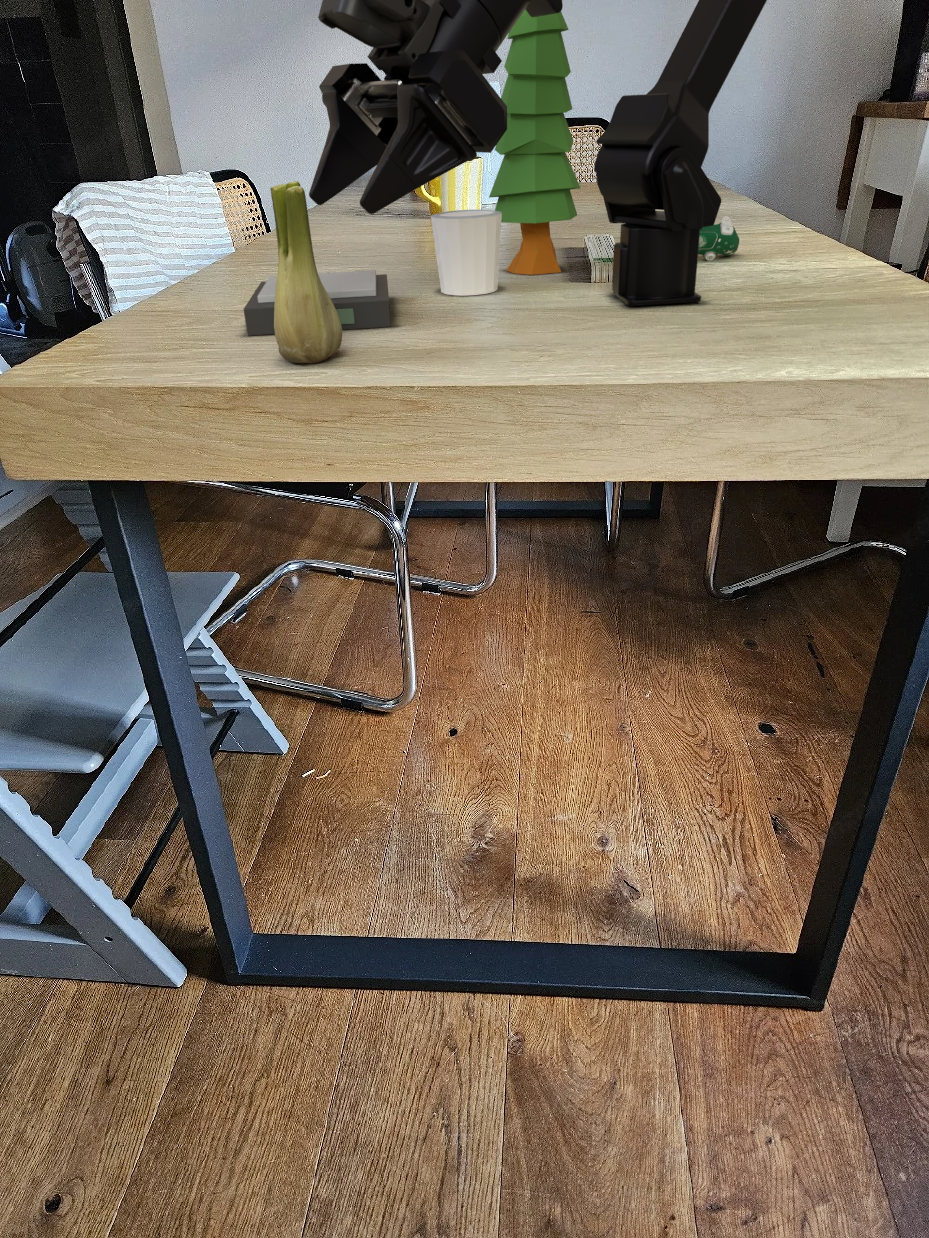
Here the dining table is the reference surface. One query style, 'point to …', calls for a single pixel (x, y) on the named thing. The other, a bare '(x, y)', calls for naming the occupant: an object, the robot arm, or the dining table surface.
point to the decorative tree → (536, 141)
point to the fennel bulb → (300, 285)
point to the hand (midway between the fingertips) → (338, 205)
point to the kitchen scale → (351, 293)
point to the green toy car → (718, 239)
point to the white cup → (467, 250)
